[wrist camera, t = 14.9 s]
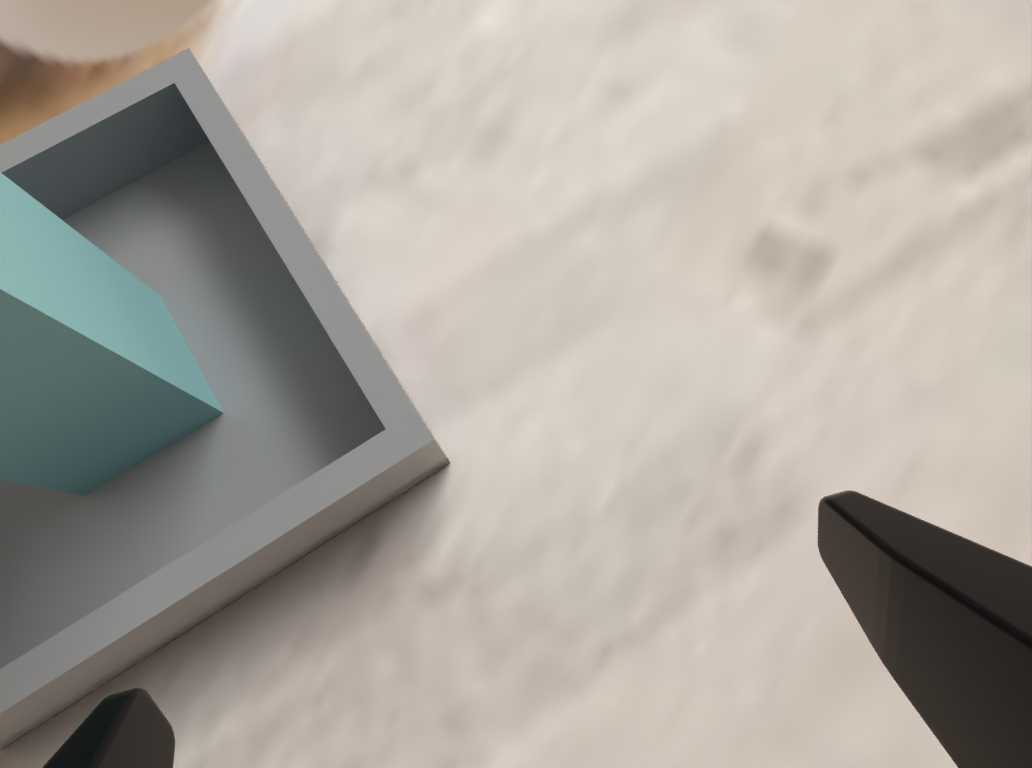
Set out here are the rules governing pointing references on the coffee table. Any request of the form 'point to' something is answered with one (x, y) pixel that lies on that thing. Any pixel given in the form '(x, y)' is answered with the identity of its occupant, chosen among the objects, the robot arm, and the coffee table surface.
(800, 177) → the coffee table surface
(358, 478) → the grey crate
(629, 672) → the coffee table surface
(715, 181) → the coffee table surface
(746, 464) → the coffee table surface
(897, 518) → the robot arm
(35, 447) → the teal square pillar
